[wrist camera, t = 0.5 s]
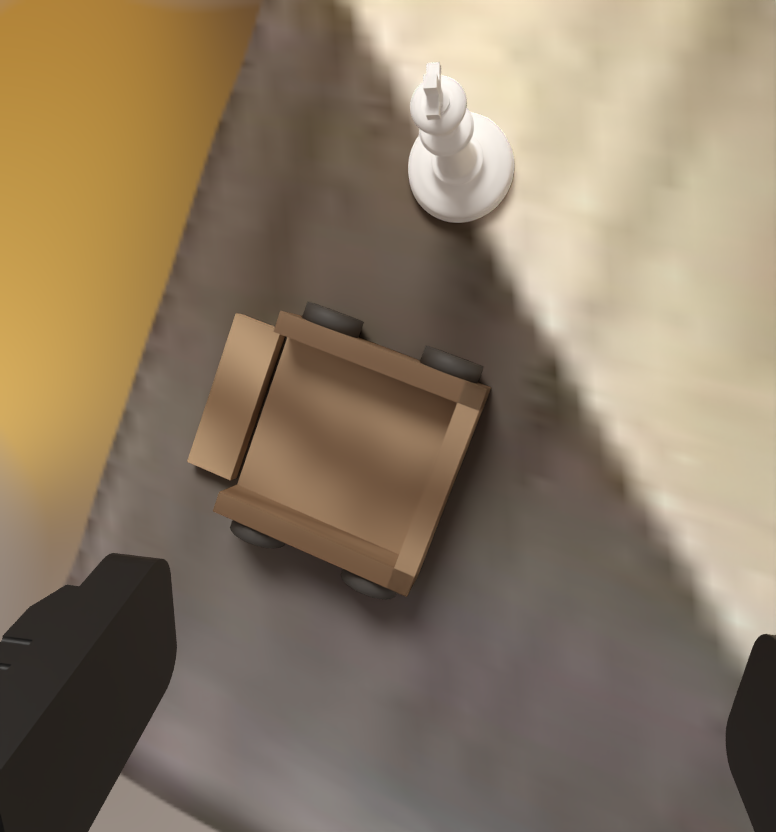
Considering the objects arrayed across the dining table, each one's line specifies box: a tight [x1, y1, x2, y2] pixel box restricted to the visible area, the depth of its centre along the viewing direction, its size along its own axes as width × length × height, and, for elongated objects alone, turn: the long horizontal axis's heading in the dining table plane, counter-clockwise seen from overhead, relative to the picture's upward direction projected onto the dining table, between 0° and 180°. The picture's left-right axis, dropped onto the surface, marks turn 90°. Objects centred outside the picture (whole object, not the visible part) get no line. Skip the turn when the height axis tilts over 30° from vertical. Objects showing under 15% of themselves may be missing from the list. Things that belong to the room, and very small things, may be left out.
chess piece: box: [408, 62, 514, 223], centre depth 27 cm, size 5×5×10 cm
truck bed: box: [187, 302, 491, 599], centre depth 32 cm, size 12×13×3 cm
